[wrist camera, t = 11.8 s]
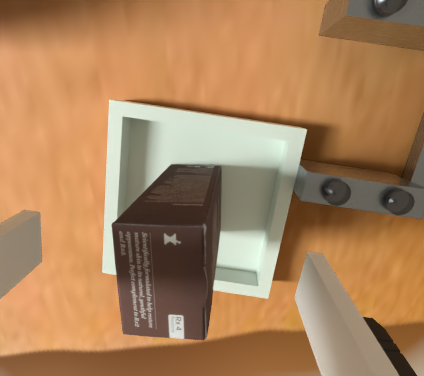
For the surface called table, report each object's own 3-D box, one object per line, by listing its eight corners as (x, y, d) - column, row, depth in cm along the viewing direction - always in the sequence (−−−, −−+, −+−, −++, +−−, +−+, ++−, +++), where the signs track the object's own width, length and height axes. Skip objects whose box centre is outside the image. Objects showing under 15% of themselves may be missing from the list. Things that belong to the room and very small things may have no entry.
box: (166, 163, 24) (107, 220, 12) (222, 164, 23) (216, 223, 12) (168, 231, 25) (118, 339, 14) (220, 233, 25) (214, 344, 13)
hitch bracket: (286, 181, 24) (302, 204, 19) (325, 4, 20) (360, -32, 15) (419, 201, 24) (474, 230, 19) (483, 26, 20) (574, -1, 15)
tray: (113, 257, 27) (102, 272, 24) (122, 100, 23) (109, 99, 20) (264, 280, 27) (267, 298, 24) (298, 126, 23) (307, 129, 20)
